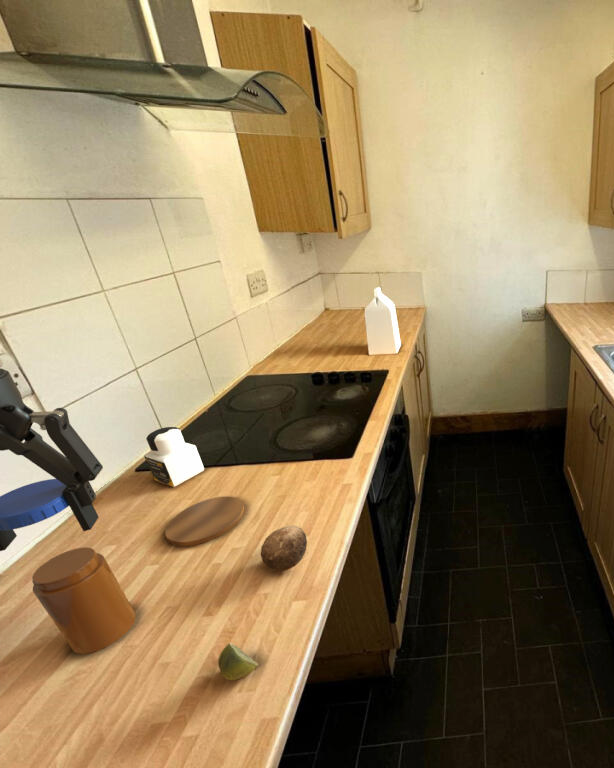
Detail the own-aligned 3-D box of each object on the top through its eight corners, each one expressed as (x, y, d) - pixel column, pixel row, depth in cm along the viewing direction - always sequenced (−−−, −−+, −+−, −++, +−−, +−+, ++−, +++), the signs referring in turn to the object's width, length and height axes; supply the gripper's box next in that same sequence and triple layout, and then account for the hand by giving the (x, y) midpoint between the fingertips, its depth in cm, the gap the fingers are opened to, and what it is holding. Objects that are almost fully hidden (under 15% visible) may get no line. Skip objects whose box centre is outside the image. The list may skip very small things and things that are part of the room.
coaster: (149, 544, 78) (147, 540, 78) (201, 498, 90) (200, 495, 90) (213, 548, 77) (211, 544, 77) (258, 501, 89) (257, 497, 89)
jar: (57, 652, 60) (10, 584, 54) (106, 607, 66) (68, 543, 61) (103, 656, 59) (60, 588, 54) (148, 610, 66) (113, 545, 60)
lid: (93, 491, 57) (88, 479, 56) (27, 533, 50) (20, 520, 49) (42, 488, 58) (35, 476, 57) (-31, 529, 51) (-39, 516, 50)
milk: (374, 345, 183) (365, 286, 173) (400, 344, 185) (393, 285, 174) (368, 354, 173) (359, 292, 162) (397, 353, 174) (389, 291, 163)
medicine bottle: (154, 480, 96) (134, 436, 91) (186, 463, 102) (169, 421, 97) (174, 487, 94) (154, 442, 89) (205, 470, 100) (189, 426, 95)
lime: (234, 656, 59) (223, 632, 57) (268, 654, 59) (259, 630, 57) (215, 690, 55) (203, 666, 53) (252, 687, 55) (242, 663, 53)
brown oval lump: (306, 519, 79) (286, 512, 74) (325, 552, 76) (305, 547, 70) (269, 548, 78) (246, 544, 72) (287, 584, 74) (264, 581, 69)
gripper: (90, 353, 53) (153, 495, 63) (-155, 381, 45) (-40, 539, 55) (62, 373, 47) (137, 528, 56) (-227, 410, 39) (-83, 582, 49)
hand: (50, 533), depth 56 cm, fingers closed on lid, 8 cm apart
